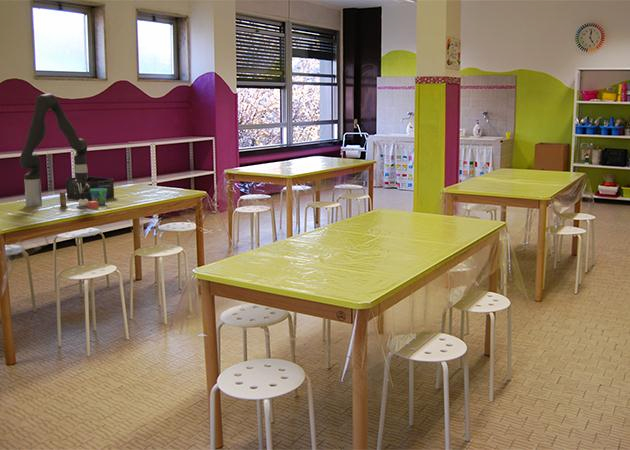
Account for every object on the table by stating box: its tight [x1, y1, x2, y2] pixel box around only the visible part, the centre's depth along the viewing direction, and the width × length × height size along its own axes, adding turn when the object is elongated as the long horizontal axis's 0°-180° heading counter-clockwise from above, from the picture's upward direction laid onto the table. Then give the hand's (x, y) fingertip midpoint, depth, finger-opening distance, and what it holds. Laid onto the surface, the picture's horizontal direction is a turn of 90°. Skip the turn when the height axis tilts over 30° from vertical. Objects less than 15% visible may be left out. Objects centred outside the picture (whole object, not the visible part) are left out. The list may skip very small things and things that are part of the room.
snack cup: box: [90, 188, 107, 206], centre depth 430 cm, size 16×10×10 cm
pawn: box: [59, 191, 69, 210], centre depth 413 cm, size 5×5×10 cm
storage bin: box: [65, 175, 115, 202], centre depth 457 cm, size 29×19×13 cm
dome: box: [77, 199, 89, 206], centre depth 416 cm, size 6×6×4 cm
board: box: [58, 201, 99, 214], centre depth 413 cm, size 19×16×5 cm
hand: (83, 199), depth 416 cm, fingers closed
